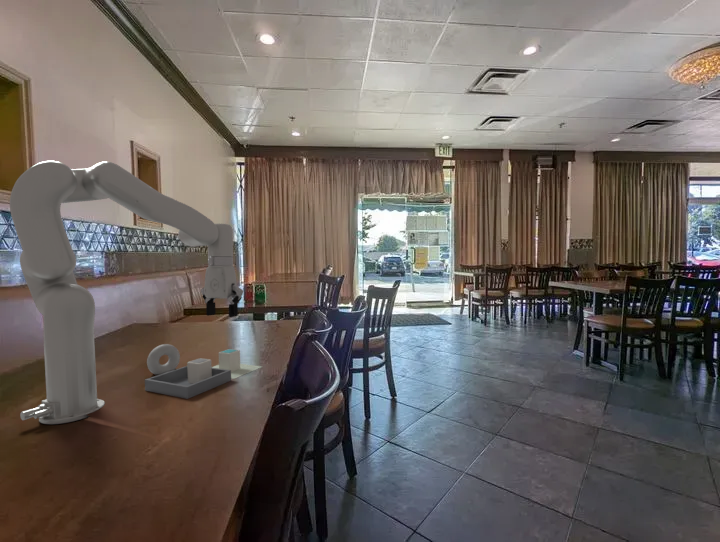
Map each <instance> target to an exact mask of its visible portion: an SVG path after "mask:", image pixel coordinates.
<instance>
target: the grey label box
mask: <svg viewBox="0 0 720 542" xmlns="http://www.w3.org/2000/svg"><path fill="white" fill-rule="evenodd" d="M186 364H187V365H186V366H187V370H188V383H193V384H194V383H196V382H199V381H202V380H204V379H207V378H209V377H212V367H213V366H212V359H209V358H196V359H193V360H190V361H188V362H187V361H186Z"/></svg>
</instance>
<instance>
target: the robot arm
mask: <svg viewBox="0 0 720 542" xmlns="http://www.w3.org/2000/svg"><path fill="white" fill-rule="evenodd" d="M107 199H110V200H111V201H113V202H115V203H116V204H119V205H120V206H122V207H123V208H125V209H127V210H128V211H130V212H132V213H134V214H135V215H136V216H138V217H140V218H141V219H144V220H147V221H150V222H154V223H158V224H159V223H160V224H162V225H167V226H170V227H172V228H175V229H177V230H178V238H179V240H180V242H181V243H183V244H184V245H185V246H187V247H204V246H207V265H208V267H206V270H205V276H204V286H203V287H202V288H201V289H200V293H201V295H202V299H203V300H204V304H205V308H206V309H205V310H206V316H214V315H216V311H217V310H216V301H215V300H216V299H227V301H228V302H229V304H228V317H230V318H235V317H238V315H239V313H238V309H239V307H238V304H240V301H241V300H242V296H243V294H244V290H243V289H242V288H241V287H239V286H238V283H237V274H236V269H235V266H234V240H233V239H234V238H233V237H234V236H233V235H234V234H233V233H234V232H233V230H234V229H233V228H232V225H231V224H227V223H215V222H214V221H212V220H211V219H210V218H209V217H208V216H206V215H204V214H203V213H201V212H200V211H198V210H197V209H195V208H194V207H192V206H190V205H188V204H186V203H183V202H181V201H178V200H177V199H175V198H173V197H170V196H167V195H165V194H163V193H162V192H159V190H157V189H155V188H153V187H152V186H150V185H149V184H147V183H146V182H144V181H143V180H141V179H140V178H139V177H138V176H136V175H134V174H132V173H131V172H129V171H128V170H126V169H125V168H123V167H122V166H120V165H118V164H116V163H115V162H111V161H101V162H98V163H96V164H94V165H92V166H91V167H88V168H76V169H73V168H72V169H71V168H70V166H69V165H66V164H65V163H64V162H60V161H57V160H56V161H55V160H45V161H41V162H38V163H36V164H34V165H32V166H31V167H29V168H28V169H26V170H25V171H24V172H23V173H22V174H20V176H19V177H18V178H17V180H16V181H15V182H14V185H13V187H12V190H11V192H10V196H9V210H10V216H11V218H12V222H13V225H14V228H15V233H16V234H17V235H16V236H17V238H18V241H19V243H20V247H21V249H22V251H21V253H20V256H19V264H20V268H21V272H22V274H23V277H24V279H25V283H26V285H27V287H28V289H29V292H30V295H31V298H32V299H33V303H34V305H35V307H36V308H37V311H38V312H39V313H40V314H41V315H42V316H43V354H44V370H45V371H44V372H45V389H46V394H45V395H46V398H45V399H43V400H41V404H38V405H37V406H36V407H35V408H29V409H26V410H23V411H21V412H20V419H21V420H22V421H25V420H28V419H32V418H34V420H37V419H38V422H39V423H41V424H44V425H59V424H67V423H72V422H75V421H80V420H83V419H86V418H89V417H90V415H88V414H91V413H94V412H97V411H98V410H99V409H102V408H103V407H104V406H105V404H106V402H105V401H104V400H103V399H99V398H98V392H97V388H98V387H97V375H96V374H97V373H96V372H97V369H96V350H95V349H96V348H95V333H94V332H95V317H96V316H95V315H96V304H95V303H96V302H95V298H94V297H93V295H92V293H91V292H90V291H89V290H88V289H87V288H85V287H84V286H82V285H79V284H78V281H77V279H76V276H75V273H74V270H75V268H76V267H77V266H76V265H77V258H76V254H75V252H74V249H73V248H72V245H71V242H70V239H69V237H68V233H67V232H66V229H65V225H64V222H63V218H62V215H61V205H62V204H66V203H68V204H69V203H77V202H91V201H101V200H107Z"/></svg>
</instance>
